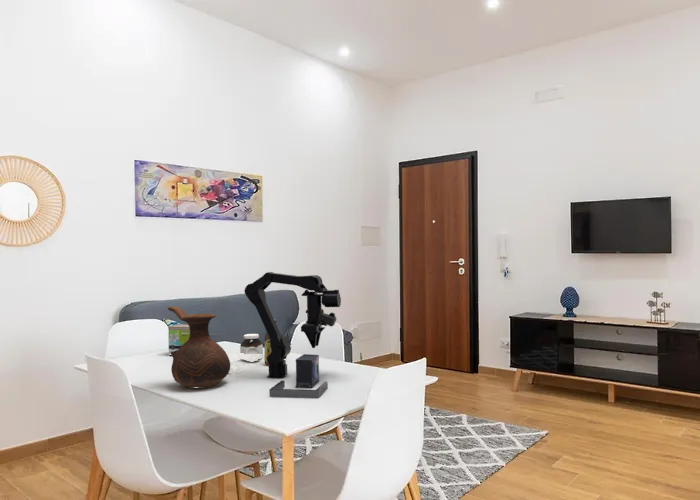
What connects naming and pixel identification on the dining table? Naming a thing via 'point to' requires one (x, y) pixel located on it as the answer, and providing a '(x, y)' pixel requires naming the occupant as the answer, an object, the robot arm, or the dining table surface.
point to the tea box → (178, 336)
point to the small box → (307, 371)
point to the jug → (198, 354)
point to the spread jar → (251, 344)
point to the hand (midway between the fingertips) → (315, 346)
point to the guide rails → (297, 391)
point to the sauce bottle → (267, 347)
